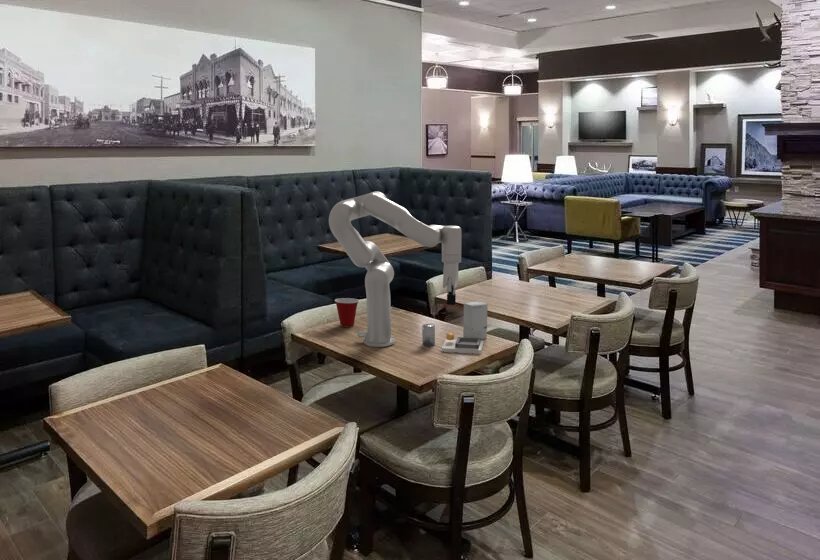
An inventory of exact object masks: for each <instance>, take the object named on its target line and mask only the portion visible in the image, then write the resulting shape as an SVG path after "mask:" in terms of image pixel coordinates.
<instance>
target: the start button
mask: <svg viewBox="0 0 820 560" xmlns="http://www.w3.org/2000/svg"><path fill="white" fill-rule="evenodd" d="M445 335H446V339H447V340H454V339H455V333H453V332H452V333H451V332H448V333H446V334H445ZM446 339H445V340H446Z"/></svg>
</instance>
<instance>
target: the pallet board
mask: <svg viewBox="0 0 820 560" xmlns="http://www.w3.org/2000/svg"><path fill="white" fill-rule="evenodd" d="M482 347H484V340H482V339H481V338H466V337H463V336H462V337H461V336H458V337H457V339H455V338H454V340H447V339H445V340H444V343H443V344H442V347H441V352H442V353H454V352H458V354H472V353H473V355H474V354H475V355H476V354H477V355H481V354H482V351H483V348H482ZM443 351H444V352H443Z"/></svg>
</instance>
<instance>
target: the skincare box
mask: <svg viewBox="0 0 820 560" xmlns="http://www.w3.org/2000/svg"><path fill="white" fill-rule="evenodd" d="M462 327H463V330H462V331H463V332H462V333H463V334H462V337H466V338H481V340H484V339H487V335H488V334H487V333H488V331H487V329H488V303H485V302H483V301H471V302H464V303H463V326H462Z"/></svg>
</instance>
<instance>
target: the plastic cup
mask: <svg viewBox="0 0 820 560" xmlns="http://www.w3.org/2000/svg"><path fill="white" fill-rule="evenodd" d="M359 302H360V299H357V298H350V297H342V298H336V299H334V303H335V305H336V309H337V314H338V319H339V324H340V326H341V325H342V326H352V327H354V326H355V319H356V314H357V307H358V304H359ZM353 325H354V326H353ZM342 326H341V327H342Z"/></svg>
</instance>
